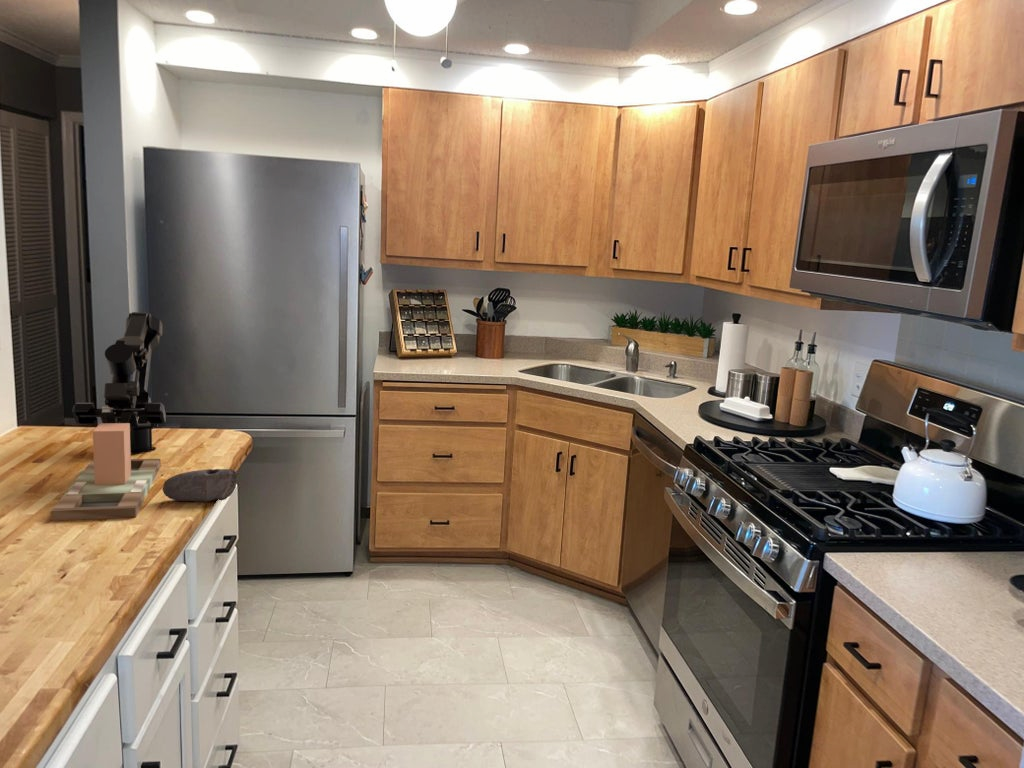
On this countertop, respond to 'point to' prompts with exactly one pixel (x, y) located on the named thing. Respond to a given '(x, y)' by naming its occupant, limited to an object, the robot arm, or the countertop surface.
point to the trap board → (107, 494)
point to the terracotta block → (112, 453)
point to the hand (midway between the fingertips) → (115, 445)
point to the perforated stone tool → (201, 485)
